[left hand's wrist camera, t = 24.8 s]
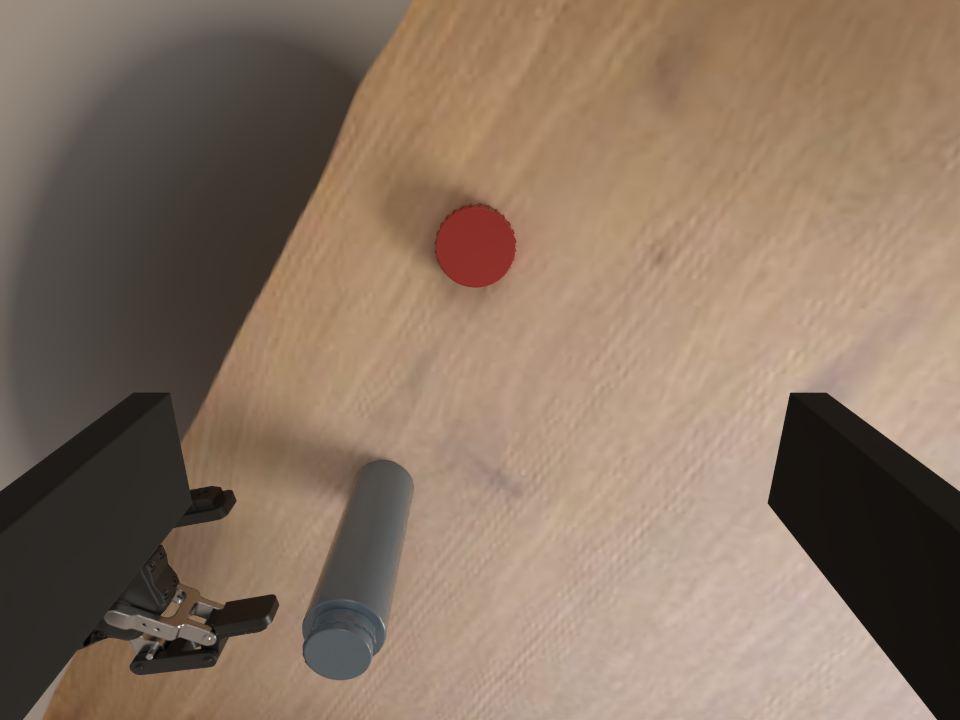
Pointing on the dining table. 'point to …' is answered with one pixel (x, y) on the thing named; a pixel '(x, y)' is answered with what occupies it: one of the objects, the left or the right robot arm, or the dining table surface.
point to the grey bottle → (359, 574)
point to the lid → (475, 245)
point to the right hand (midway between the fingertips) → (253, 558)
